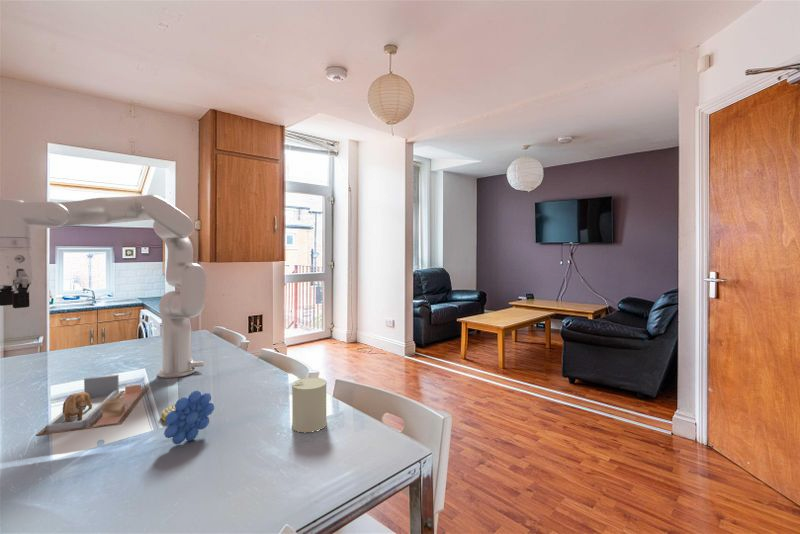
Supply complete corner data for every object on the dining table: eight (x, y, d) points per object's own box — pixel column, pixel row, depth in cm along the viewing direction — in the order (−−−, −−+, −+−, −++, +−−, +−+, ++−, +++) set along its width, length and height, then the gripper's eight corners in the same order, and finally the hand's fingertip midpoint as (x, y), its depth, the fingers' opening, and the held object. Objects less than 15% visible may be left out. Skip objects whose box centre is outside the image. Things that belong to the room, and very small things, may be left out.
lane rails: (148, 391, 125) (148, 388, 125) (121, 427, 99) (121, 423, 99) (82, 399, 119) (82, 395, 119) (36, 439, 93) (35, 434, 93)
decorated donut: (211, 418, 106) (211, 405, 106) (168, 431, 98) (168, 417, 98) (198, 407, 113) (197, 395, 113) (156, 419, 105) (156, 406, 105)
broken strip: (142, 392, 124) (142, 383, 124) (117, 425, 100) (117, 414, 100) (125, 394, 122) (125, 385, 122) (95, 428, 99) (95, 417, 98)
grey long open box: (118, 396, 121) (118, 374, 121) (86, 430, 98) (86, 404, 97) (86, 399, 118) (86, 377, 118) (45, 436, 94) (44, 408, 94)
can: (289, 421, 104) (289, 378, 103) (323, 415, 107) (323, 374, 107) (294, 436, 95) (294, 389, 95) (330, 429, 99) (330, 384, 98)
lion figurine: (87, 428, 99) (86, 394, 99) (60, 433, 96) (59, 398, 96) (94, 408, 111) (93, 378, 111) (70, 413, 108) (69, 382, 108)
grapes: (206, 426, 100) (205, 382, 100) (219, 434, 96) (218, 387, 96) (157, 444, 91) (156, 395, 90) (169, 453, 87) (168, 402, 86)
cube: (124, 410, 108) (124, 396, 107) (120, 416, 104) (120, 402, 104) (107, 412, 106) (107, 398, 106) (102, 418, 102) (102, 404, 102)
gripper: (43, 244, 103) (45, 307, 103) (18, 245, 111) (19, 302, 111) (5, 243, 96) (7, 310, 97) (-19, 244, 104) (-17, 305, 105)
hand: (14, 306), depth 104 cm, fingers open, 9 cm apart
